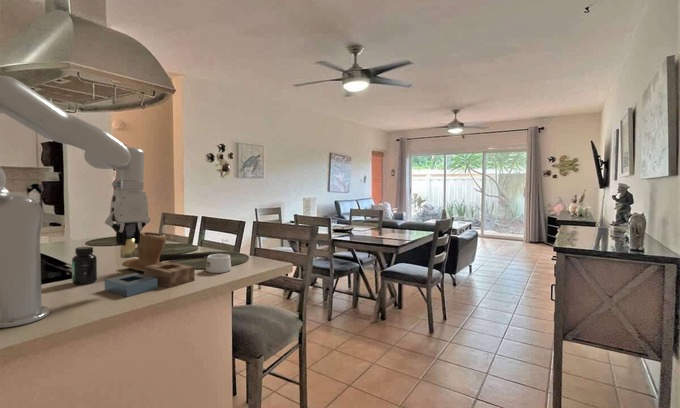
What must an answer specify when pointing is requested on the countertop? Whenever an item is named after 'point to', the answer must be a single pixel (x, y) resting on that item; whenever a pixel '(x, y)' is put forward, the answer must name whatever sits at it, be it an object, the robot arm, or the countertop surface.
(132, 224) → the two-tone roller
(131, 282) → the socket block
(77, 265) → the supplement bottle
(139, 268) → the tan boot
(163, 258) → the wrench
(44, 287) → the countertop surface
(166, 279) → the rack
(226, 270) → the mug
